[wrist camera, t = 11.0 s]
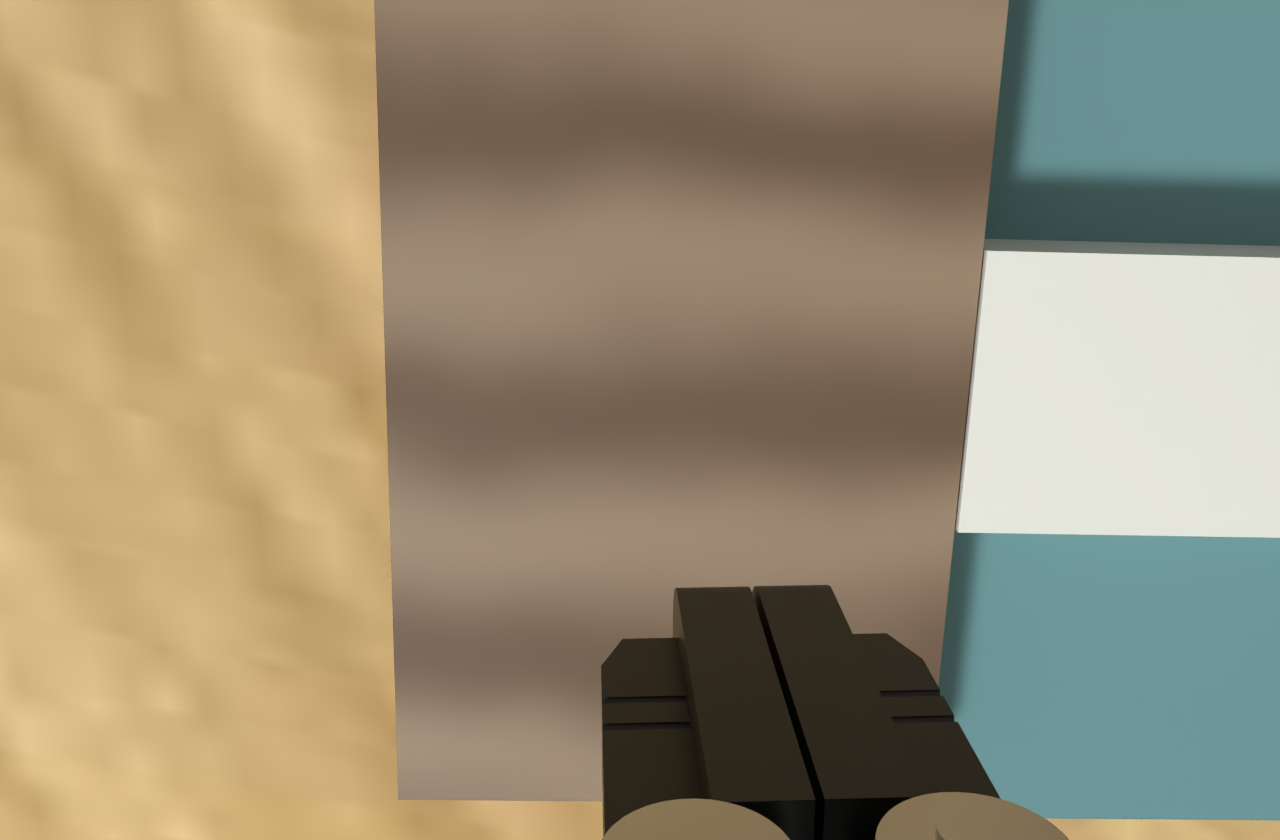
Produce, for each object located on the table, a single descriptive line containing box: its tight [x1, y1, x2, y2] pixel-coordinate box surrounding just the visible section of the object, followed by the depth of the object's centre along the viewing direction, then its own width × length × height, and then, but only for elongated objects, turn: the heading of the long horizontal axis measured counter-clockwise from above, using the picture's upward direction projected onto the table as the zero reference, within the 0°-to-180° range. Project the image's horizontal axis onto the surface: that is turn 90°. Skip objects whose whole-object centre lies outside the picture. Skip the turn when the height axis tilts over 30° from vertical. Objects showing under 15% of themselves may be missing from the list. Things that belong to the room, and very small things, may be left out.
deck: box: [374, 0, 1009, 801], centre depth 30 cm, size 22×14×3 cm, turn 178°
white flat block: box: [955, 239, 1280, 538], centre depth 30 cm, size 7×11×2 cm, turn 88°
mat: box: [938, 0, 1280, 820], centre depth 32 cm, size 26×14×1 cm, turn 178°
